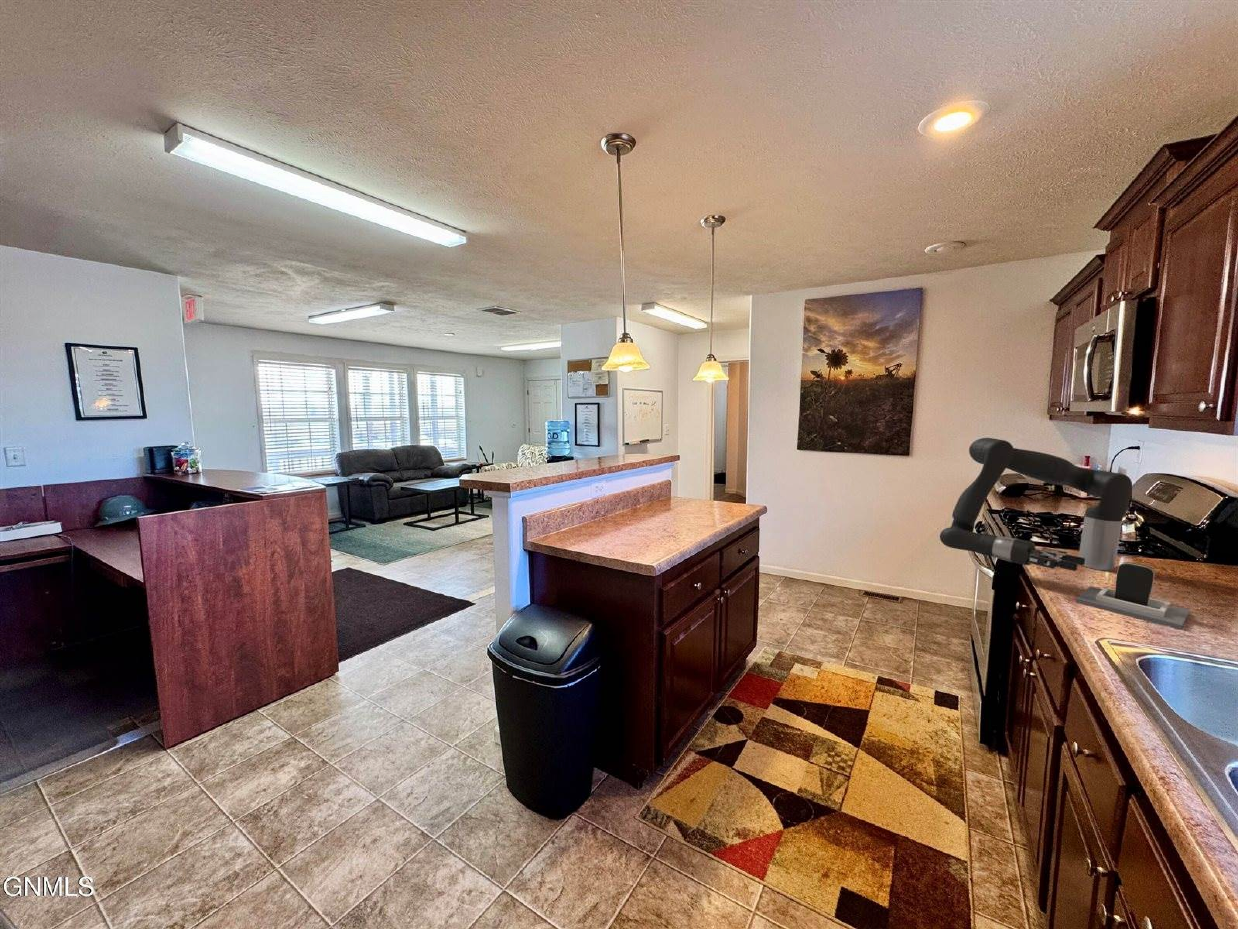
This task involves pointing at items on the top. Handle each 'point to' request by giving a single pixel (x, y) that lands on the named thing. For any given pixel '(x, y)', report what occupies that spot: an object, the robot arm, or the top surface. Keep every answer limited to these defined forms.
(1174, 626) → the holder
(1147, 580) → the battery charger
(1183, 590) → the top surface
